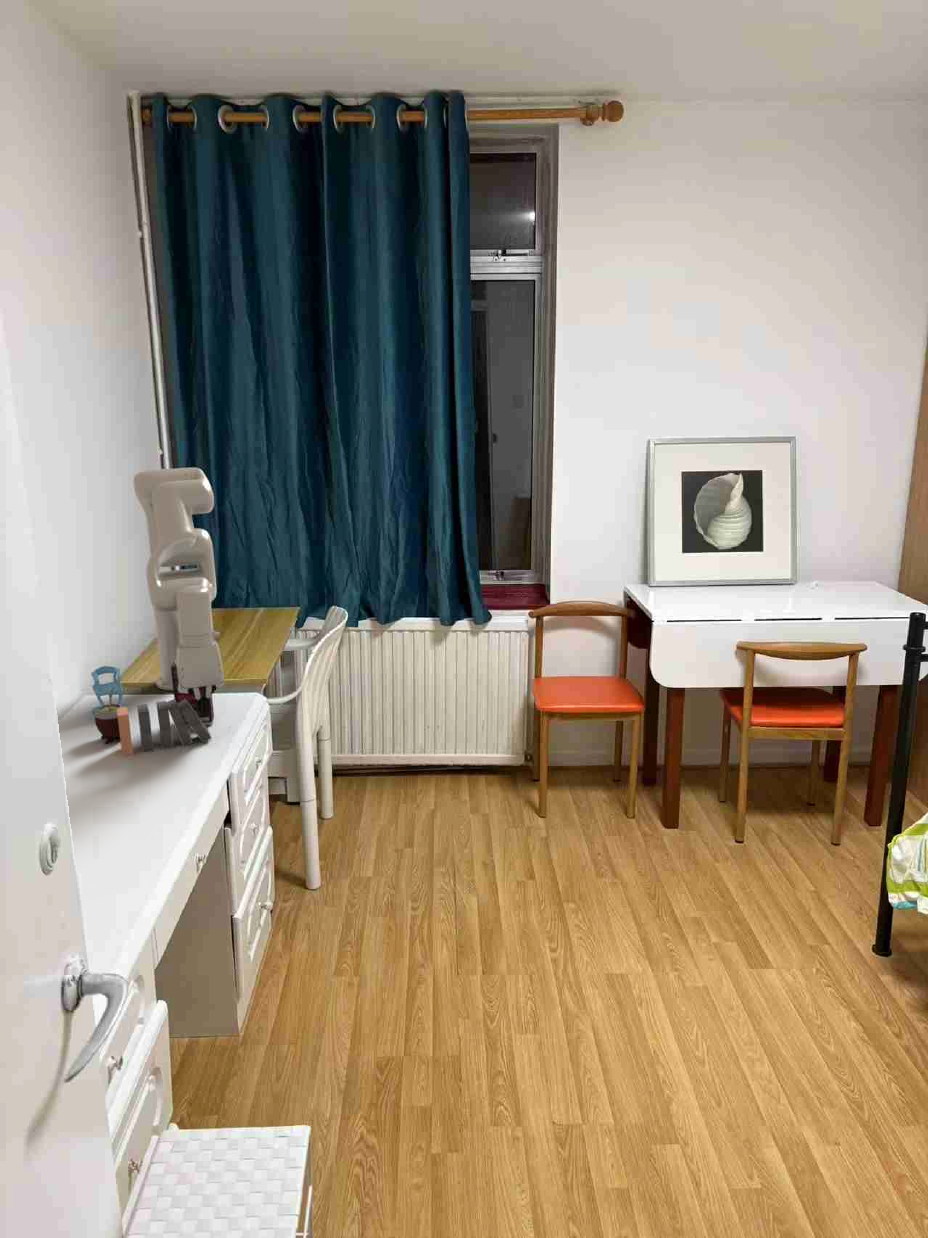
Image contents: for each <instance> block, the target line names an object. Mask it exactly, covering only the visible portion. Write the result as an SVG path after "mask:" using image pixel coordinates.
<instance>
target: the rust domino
mask: <svg viewBox="0 0 928 1238" xmlns="http://www.w3.org/2000/svg"><path fill="white" fill-rule="evenodd" d="M128 711H129V710H128V707H127V706H124V707H121V708H117V715H118V724H119V732H120V740H121V741H120V740H119V741H120V747H121V753H122V757H126V756H133V755H134V750H133V749H134V748H133V743H132V734H131V726H130V725H131V724H130V717H129V712H128Z"/></svg>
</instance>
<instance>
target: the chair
mask: <svg viewBox="0 0 928 1238" xmlns="http://www.w3.org/2000/svg"><path fill="white" fill-rule="evenodd" d="M104 674H113V675H112V676H113V677H112V680H113V681H110V682H106V683H100V678H99V676H100V675H104ZM90 675H91V676H92V678H93V682H94V683H93V685H91V687H92V691H93V692H94V694H95V696H96V698H97V701H98V703H99V706H94V707H93V706H92V708H91V711H92V712H93V713H95V714H96V713H97V710H98V709H99V708H100V707H102V706H104V705H105V703H104V701H103V699H102V697H103V696H107V695H109V693H110V691H111V689H112V688H113V687H115V689H114V690H113V692H112V693H113V694H118V700H117V702H114V703H113V704H118V705H120V706H121V707H125V704H124V701H123V697H124V692H125V689H124V687H123V686H122V685H121V679H122V677H121V669H120V668H118V667H114V666H109V665H104V666H100V667H98V668H97V669H95V670H94V671H92V672H90ZM107 705H109V703H108V704H107Z"/></svg>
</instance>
